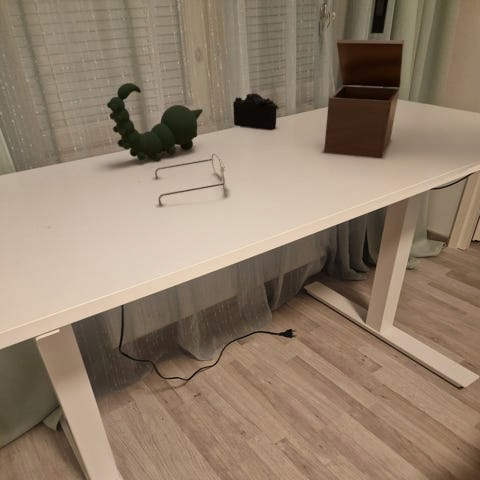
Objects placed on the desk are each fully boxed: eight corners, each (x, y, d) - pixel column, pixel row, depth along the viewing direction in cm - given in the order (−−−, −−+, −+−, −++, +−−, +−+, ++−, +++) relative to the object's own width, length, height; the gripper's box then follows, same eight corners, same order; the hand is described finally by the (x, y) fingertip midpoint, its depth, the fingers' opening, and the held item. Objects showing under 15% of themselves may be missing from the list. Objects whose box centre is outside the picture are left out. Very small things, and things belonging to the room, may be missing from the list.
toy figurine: (136, 176, 105) (217, 145, 115) (114, 92, 92) (206, 66, 103) (119, 167, 111) (197, 138, 121) (95, 86, 98) (185, 62, 109)
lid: (403, 43, 93) (404, 40, 93) (336, 42, 97) (337, 39, 97) (399, 87, 108) (400, 84, 108) (342, 85, 113) (343, 82, 113)
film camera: (286, 123, 134) (287, 91, 128) (272, 130, 127) (273, 97, 122) (244, 118, 140) (244, 87, 134) (229, 125, 133) (228, 93, 128)
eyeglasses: (231, 198, 89) (230, 174, 86) (159, 206, 87) (155, 181, 83) (218, 172, 101) (217, 150, 98) (155, 178, 99) (152, 156, 96)
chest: (381, 158, 106) (391, 101, 98) (323, 152, 110) (328, 98, 102) (390, 140, 117) (399, 88, 109) (337, 136, 121) (342, 85, 113)
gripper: (413, -113, 81) (389, 35, 96) (418, -104, 90) (396, 30, 105) (372, -109, 83) (356, 35, 98) (382, -101, 93) (365, 30, 107)
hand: (377, 32), depth 101 cm, fingers closed
